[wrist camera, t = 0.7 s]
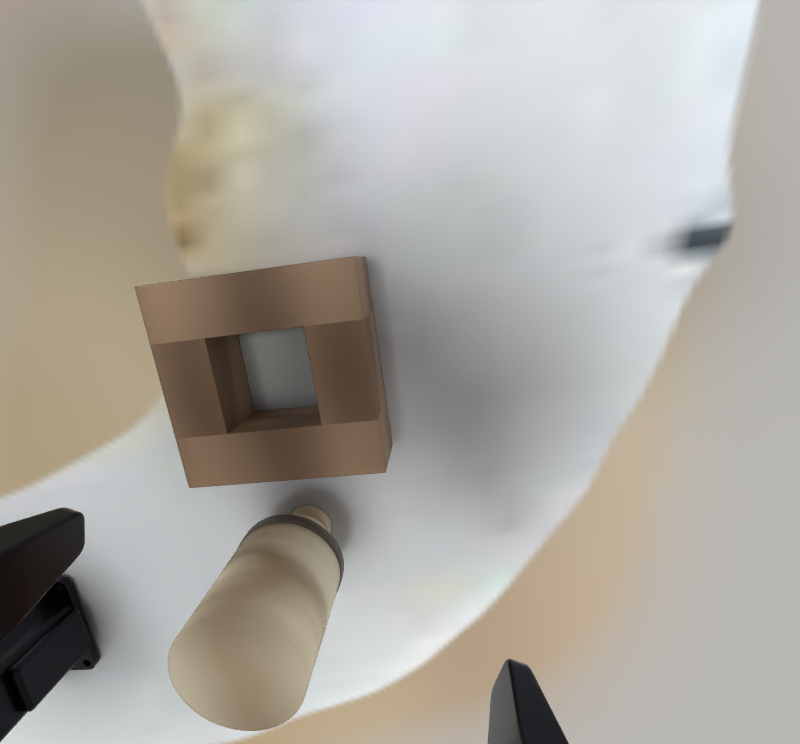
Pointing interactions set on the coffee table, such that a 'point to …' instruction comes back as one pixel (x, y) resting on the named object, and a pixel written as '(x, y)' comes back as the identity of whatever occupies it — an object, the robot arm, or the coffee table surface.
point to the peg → (260, 624)
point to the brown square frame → (228, 386)
